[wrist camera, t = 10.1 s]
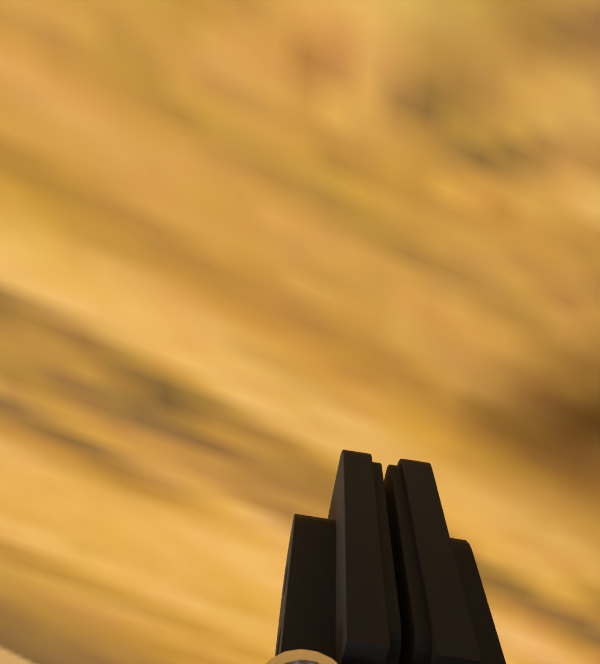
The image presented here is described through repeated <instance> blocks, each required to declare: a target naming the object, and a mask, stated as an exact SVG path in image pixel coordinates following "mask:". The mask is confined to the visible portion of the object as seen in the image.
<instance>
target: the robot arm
mask: <svg viewBox="0 0 600 664" xmlns="http://www.w3.org/2000/svg"><path fill="white" fill-rule="evenodd" d="M266 664H506V662H505V659H504V655H503V652H502V649H501V645H500V642H499V639H498V635H497V632H496V629H495V625H494V622H493V619H492V615H491V612H490V609H489V605H488V602H487V599H486V595H485V592H484V589H483V585H482V582H481V579H480V575H479V572H478V569H477V565H476V562H475V559H474V555H473V552H472V549H471V547H470V544H469V543H468V542H467V541H466V540H461V539H454V538H450V537H449V533H448V529H447V525H446V521H445V517H444V513H443V509H442V505H441V502H440V498H439V494H438V490H437V486H436V482H435V478H434V474H433V471H432V467H431V464H430V463H426V462H420V461H413V460H407V459H400V460H399V462H398V465H397V466H395V465H388V467H387V470H386V474H385V478H384V481H383V472H382V465H381V463H376V462H372V456H371V454H368V453H361V452H355V451H348V450H342V453H341V456H340V461H339V466H338V471H337V476H336V481H335V486H334V491H333V495H332V500H331V505H330V510H329V515H328V519H325V518H318V517H312V516H305V515H299V514H294V519H293V524H292V530H291V536H290V542H289V548H288V554H287V561H286V568H285V575H284V583H283V591H282V599H281V608H280V617H279V626H278V635H277V643H276V652H275V657H273V658H271V659H270V660H269V661H268V662H267V663H266Z"/></svg>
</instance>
